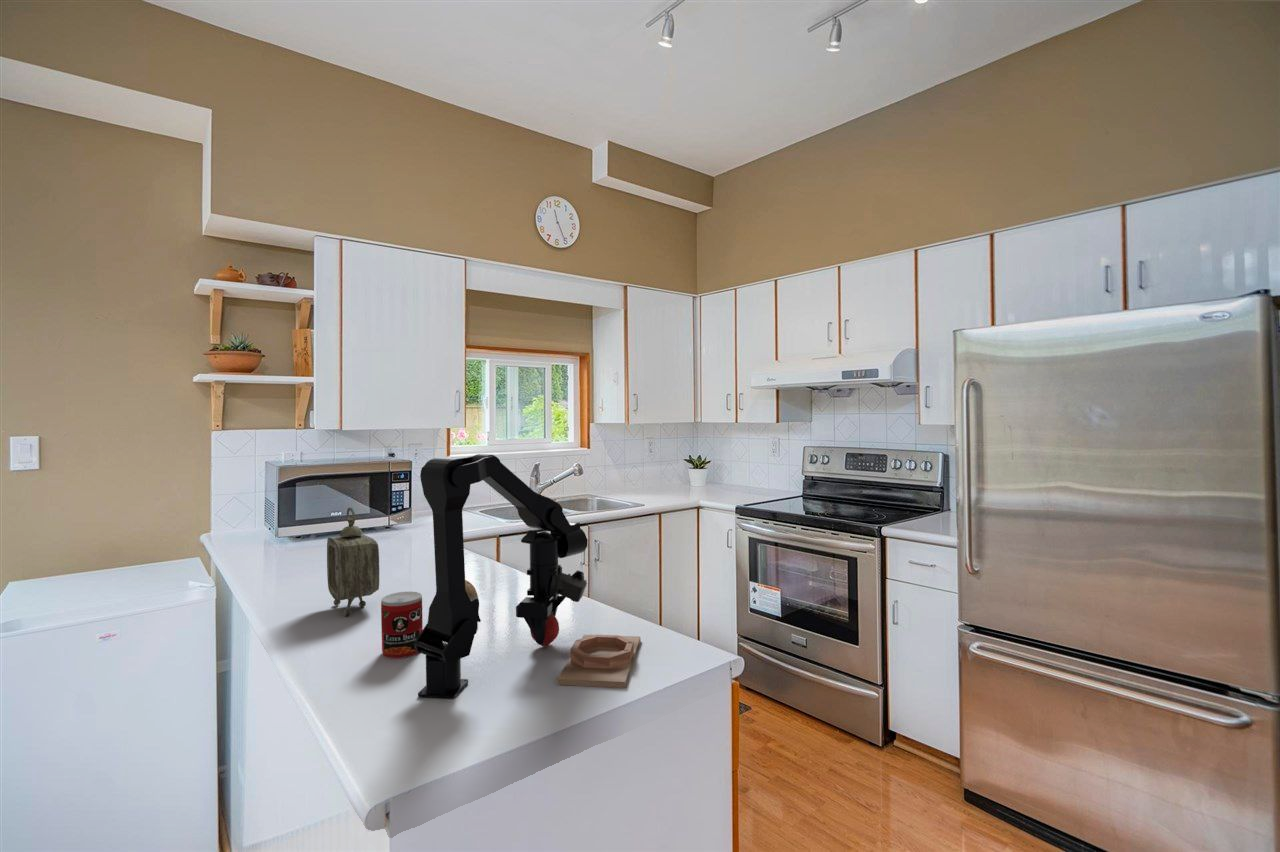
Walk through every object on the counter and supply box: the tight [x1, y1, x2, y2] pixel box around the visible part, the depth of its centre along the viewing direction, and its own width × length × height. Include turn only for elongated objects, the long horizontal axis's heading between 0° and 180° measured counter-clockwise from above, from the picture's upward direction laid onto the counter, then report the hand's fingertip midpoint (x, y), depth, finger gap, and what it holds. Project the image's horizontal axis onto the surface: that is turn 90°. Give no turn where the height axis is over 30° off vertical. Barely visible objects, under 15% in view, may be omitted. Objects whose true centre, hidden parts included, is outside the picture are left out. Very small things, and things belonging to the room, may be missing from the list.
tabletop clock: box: [326, 507, 380, 617], centre depth 152 cm, size 14×9×25 cm, turn 37°
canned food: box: [380, 591, 424, 659], centre depth 124 cm, size 8×8×11 cm
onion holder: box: [556, 634, 642, 689], centre depth 118 cm, size 22×12×3 cm, turn 173°
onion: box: [529, 614, 560, 648], centre depth 125 cm, size 6×6×8 cm
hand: (544, 638), depth 126 cm, fingers closed on onion, 6 cm apart
